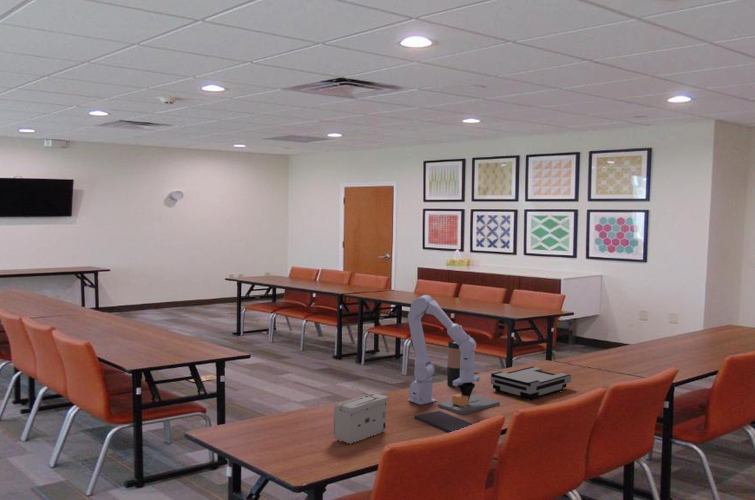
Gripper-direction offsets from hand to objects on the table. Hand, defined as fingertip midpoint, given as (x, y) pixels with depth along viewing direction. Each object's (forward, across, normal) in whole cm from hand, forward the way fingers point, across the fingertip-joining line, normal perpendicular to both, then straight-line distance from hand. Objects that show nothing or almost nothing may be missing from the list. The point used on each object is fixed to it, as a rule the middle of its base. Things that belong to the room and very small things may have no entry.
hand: (465, 400), depth 277 cm
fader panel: (+2, +2, 0) cm, 3 cm away
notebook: (+3, -22, -10) cm, 25 cm away
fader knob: (+1, -3, 0) cm, 3 cm away
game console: (+3, +43, 0) cm, 43 cm away
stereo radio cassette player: (+3, -58, -3) cm, 58 cm away
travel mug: (+3, +22, +26) cm, 34 cm away
